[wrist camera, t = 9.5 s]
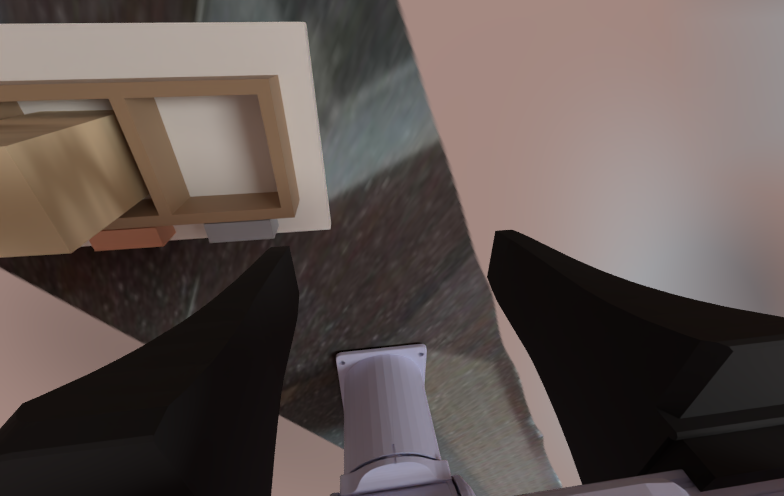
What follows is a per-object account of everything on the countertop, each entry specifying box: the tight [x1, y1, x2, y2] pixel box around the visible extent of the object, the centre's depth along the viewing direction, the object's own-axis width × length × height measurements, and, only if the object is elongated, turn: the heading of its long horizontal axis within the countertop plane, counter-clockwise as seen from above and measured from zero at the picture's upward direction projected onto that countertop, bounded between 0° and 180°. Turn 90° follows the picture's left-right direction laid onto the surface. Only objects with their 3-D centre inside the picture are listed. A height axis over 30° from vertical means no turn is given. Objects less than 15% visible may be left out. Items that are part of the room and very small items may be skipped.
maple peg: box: [0, 110, 150, 258], centre depth 14 cm, size 4×4×7 cm
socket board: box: [0, 22, 331, 251], centre depth 17 cm, size 11×16×3 cm
